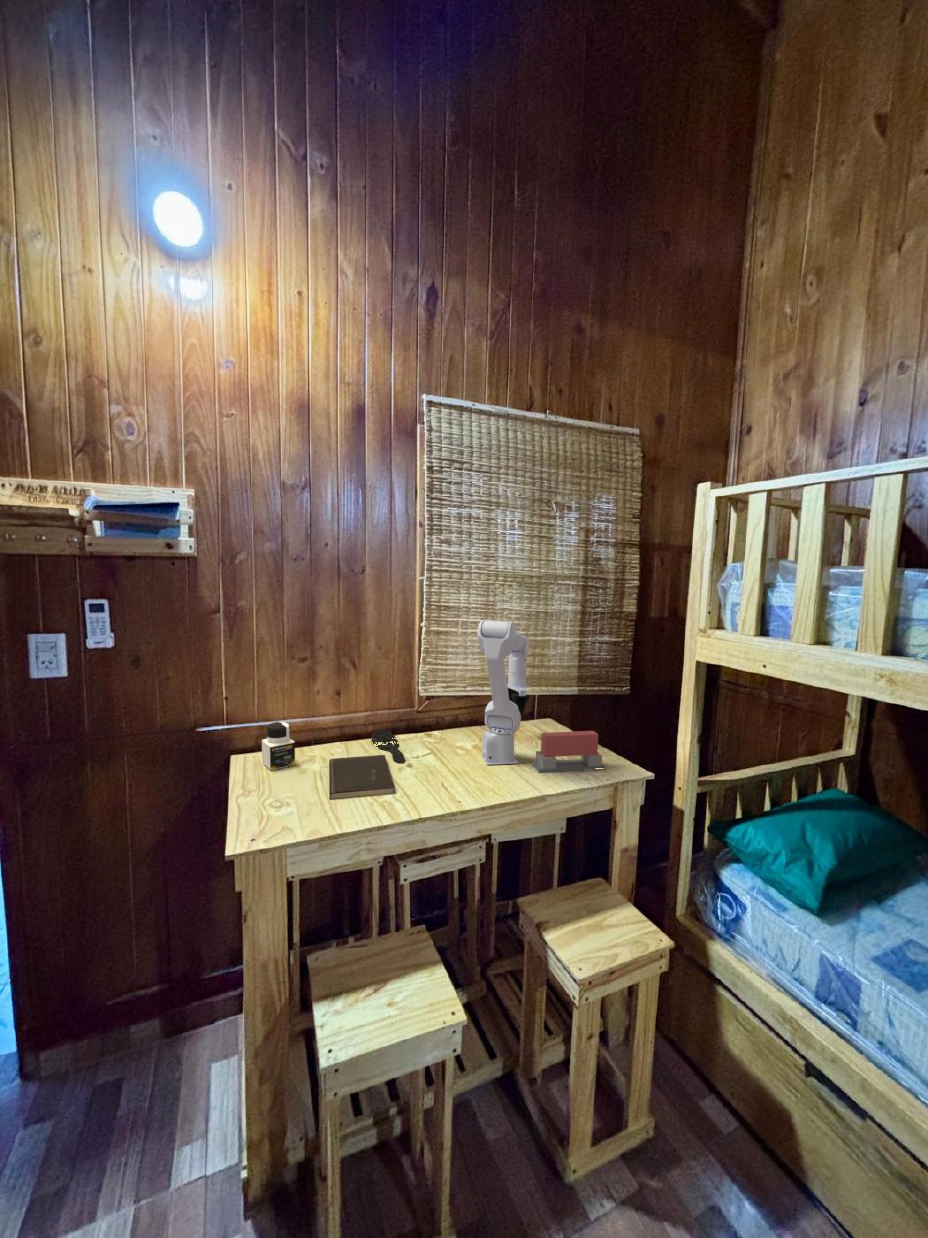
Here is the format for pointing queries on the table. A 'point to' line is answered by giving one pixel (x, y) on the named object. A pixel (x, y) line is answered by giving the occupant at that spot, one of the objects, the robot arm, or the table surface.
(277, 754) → the medicine bottle
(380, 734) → the hairbrush
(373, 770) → the hardcover book
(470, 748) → the table surface
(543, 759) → the display rack
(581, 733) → the frame bar
